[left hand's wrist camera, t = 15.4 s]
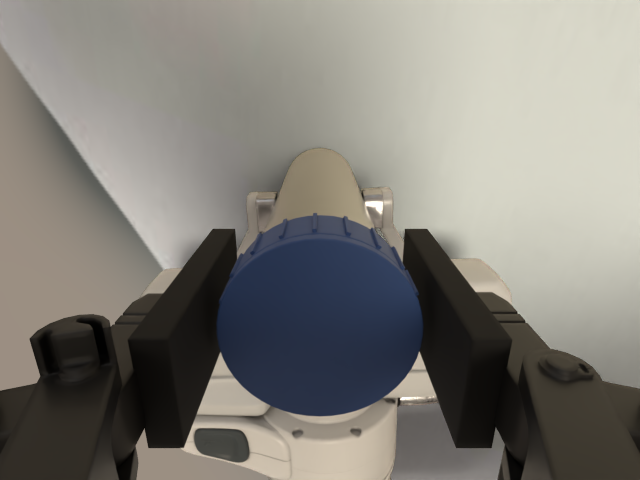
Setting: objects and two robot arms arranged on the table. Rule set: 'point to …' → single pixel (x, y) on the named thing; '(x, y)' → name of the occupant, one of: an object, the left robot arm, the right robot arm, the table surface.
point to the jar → (319, 190)
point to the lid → (319, 317)
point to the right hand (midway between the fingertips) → (318, 191)
